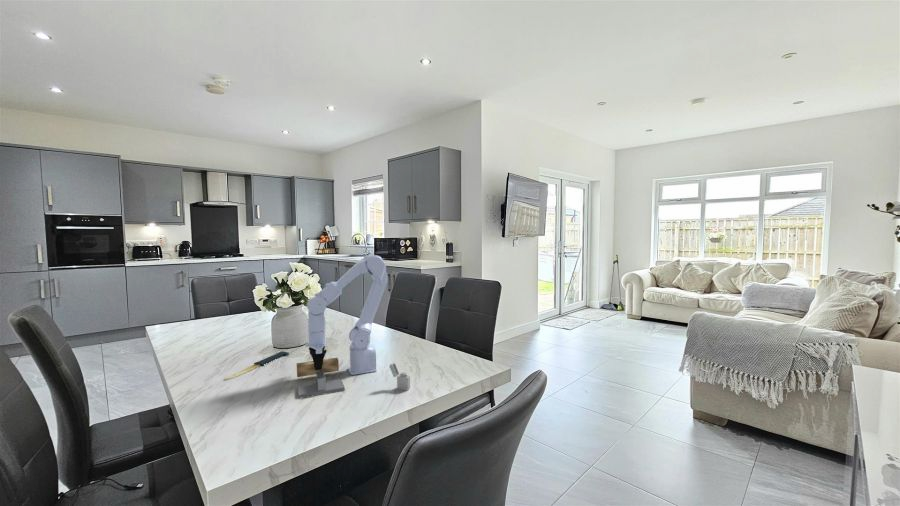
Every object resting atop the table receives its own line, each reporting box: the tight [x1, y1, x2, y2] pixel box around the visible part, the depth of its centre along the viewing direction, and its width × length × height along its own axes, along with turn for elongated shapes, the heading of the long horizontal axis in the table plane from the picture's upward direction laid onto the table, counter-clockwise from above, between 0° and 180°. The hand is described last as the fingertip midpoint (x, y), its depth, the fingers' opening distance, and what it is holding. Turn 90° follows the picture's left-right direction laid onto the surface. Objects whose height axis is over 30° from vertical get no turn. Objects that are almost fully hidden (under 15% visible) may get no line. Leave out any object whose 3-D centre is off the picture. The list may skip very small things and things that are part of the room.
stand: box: [297, 371, 346, 399], centre depth 122 cm, size 14×8×5 cm, turn 114°
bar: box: [296, 357, 340, 378], centre depth 133 cm, size 14×3×4 cm, turn 114°
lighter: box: [389, 362, 411, 392], centre depth 122 cm, size 7×2×8 cm, turn 66°
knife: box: [224, 350, 290, 381], centre depth 145 cm, size 4×2×30 cm
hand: (318, 367), depth 133 cm, fingers closed on bar, 3 cm apart
